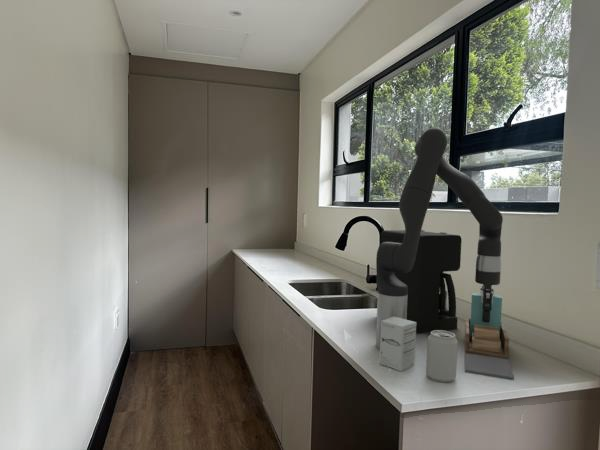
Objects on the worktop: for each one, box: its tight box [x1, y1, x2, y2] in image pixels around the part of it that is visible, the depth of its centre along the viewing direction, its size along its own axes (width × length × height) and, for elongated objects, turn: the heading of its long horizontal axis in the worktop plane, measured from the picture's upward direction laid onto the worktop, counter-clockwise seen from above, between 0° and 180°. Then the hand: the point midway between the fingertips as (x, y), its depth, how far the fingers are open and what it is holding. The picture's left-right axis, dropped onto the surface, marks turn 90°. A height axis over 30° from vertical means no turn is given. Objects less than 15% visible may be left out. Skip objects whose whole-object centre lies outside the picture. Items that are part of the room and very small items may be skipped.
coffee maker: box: [380, 229, 462, 335], centre depth 160 cm, size 28×20×35 cm
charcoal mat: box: [464, 352, 515, 380], centre depth 119 cm, size 14×12×1 cm
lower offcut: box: [472, 333, 501, 353], centre depth 133 cm, size 7×8×3 cm
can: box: [425, 330, 459, 383], centre depth 110 cm, size 8×8×12 cm
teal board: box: [470, 292, 503, 338], centre depth 139 cm, size 3×9×15 cm, turn 69°
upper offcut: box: [474, 324, 499, 342], centre depth 133 cm, size 6×7×3 cm
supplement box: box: [378, 317, 417, 372], centre depth 118 cm, size 7×7×13 cm
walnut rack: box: [464, 317, 510, 359], centre depth 135 cm, size 16×12×7 cm
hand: (485, 319), depth 139 cm, fingers open, 5 cm apart
